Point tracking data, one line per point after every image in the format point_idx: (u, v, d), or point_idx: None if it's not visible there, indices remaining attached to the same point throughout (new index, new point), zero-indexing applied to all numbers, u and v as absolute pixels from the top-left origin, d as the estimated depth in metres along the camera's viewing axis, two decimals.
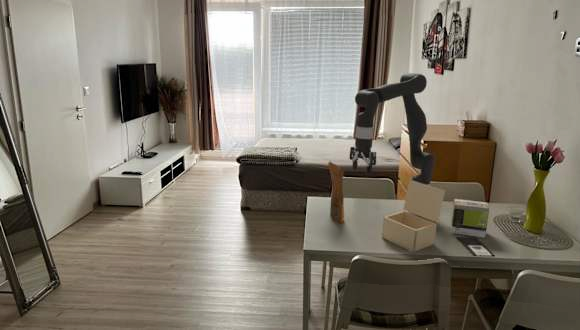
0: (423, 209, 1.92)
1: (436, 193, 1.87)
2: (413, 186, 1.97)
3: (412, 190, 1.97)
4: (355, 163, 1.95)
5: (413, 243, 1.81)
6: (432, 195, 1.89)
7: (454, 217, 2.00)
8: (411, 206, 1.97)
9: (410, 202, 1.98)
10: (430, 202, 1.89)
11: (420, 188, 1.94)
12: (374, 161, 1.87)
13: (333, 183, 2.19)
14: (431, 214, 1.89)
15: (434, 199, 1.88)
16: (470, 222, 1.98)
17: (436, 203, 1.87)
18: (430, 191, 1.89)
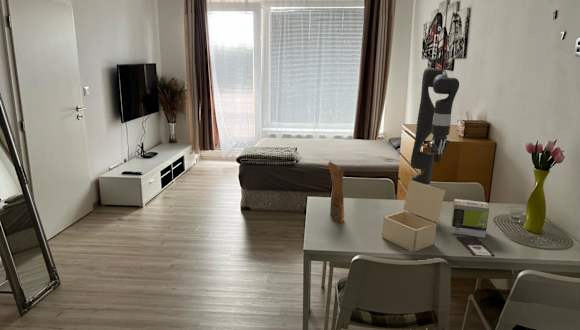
0: (423, 209, 1.92)
1: (436, 193, 1.87)
2: (413, 186, 1.97)
3: (412, 190, 1.97)
4: None
5: (413, 243, 1.81)
6: (432, 195, 1.89)
7: (454, 217, 2.00)
8: (411, 206, 1.97)
9: (410, 202, 1.98)
10: (430, 202, 1.89)
11: (420, 188, 1.94)
12: None
13: (333, 183, 2.19)
14: (431, 214, 1.89)
15: (434, 199, 1.88)
16: (470, 222, 1.98)
17: (436, 203, 1.87)
18: (430, 191, 1.89)
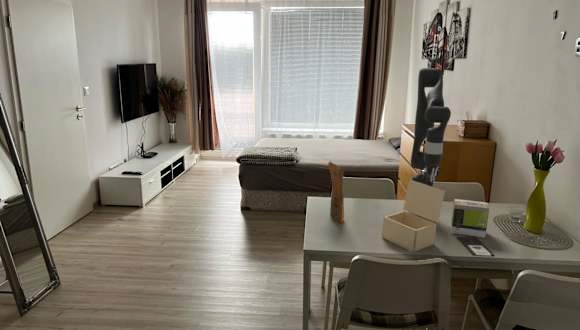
0: (423, 209, 1.92)
1: (436, 193, 1.87)
2: (413, 186, 1.97)
3: (412, 190, 1.97)
4: None
5: (413, 243, 1.81)
6: (432, 195, 1.88)
7: (454, 217, 2.00)
8: (411, 206, 1.97)
9: (410, 202, 1.97)
10: (430, 202, 1.89)
11: (420, 188, 1.94)
12: None
13: (333, 183, 2.19)
14: (431, 214, 1.89)
15: (434, 199, 1.88)
16: (470, 222, 1.98)
17: (436, 203, 1.87)
18: (430, 191, 1.89)
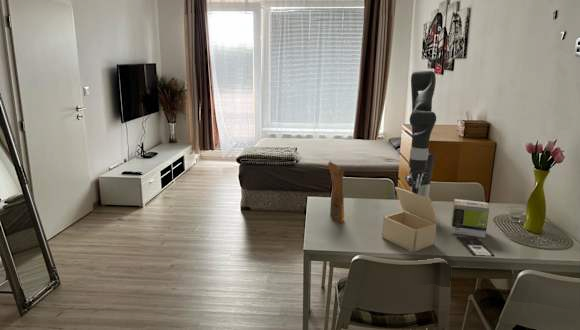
0: (419, 212, 1.91)
1: (423, 200, 1.83)
2: (401, 193, 1.92)
3: (402, 196, 1.93)
4: None
5: (413, 243, 1.81)
6: (421, 202, 1.85)
7: (454, 217, 2.00)
8: (408, 208, 1.96)
9: (405, 205, 1.96)
10: (422, 207, 1.86)
11: (407, 195, 1.89)
12: None
13: (333, 183, 2.19)
14: (428, 216, 1.88)
15: (424, 205, 1.84)
16: (470, 222, 1.98)
17: (428, 208, 1.84)
18: (417, 198, 1.85)
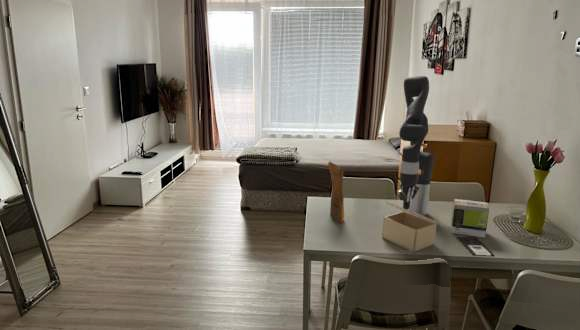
0: (417, 215, 1.91)
1: None
2: None
3: None
4: None
5: (413, 243, 1.81)
6: None
7: (454, 217, 2.00)
8: None
9: (403, 210, 1.95)
10: None
11: (400, 208, 1.88)
12: None
13: (333, 183, 2.19)
14: None
15: (418, 215, 1.83)
16: (470, 222, 1.98)
17: (423, 217, 1.83)
18: None
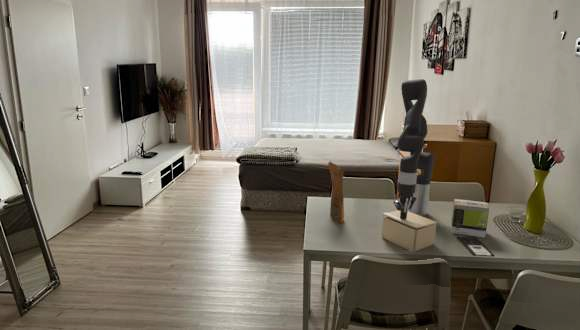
0: None
1: None
2: None
3: None
4: None
5: (413, 243, 1.81)
6: None
7: (454, 217, 2.00)
8: None
9: None
10: None
11: None
12: None
13: (333, 183, 2.19)
14: None
15: None
16: (470, 222, 1.98)
17: None
18: None
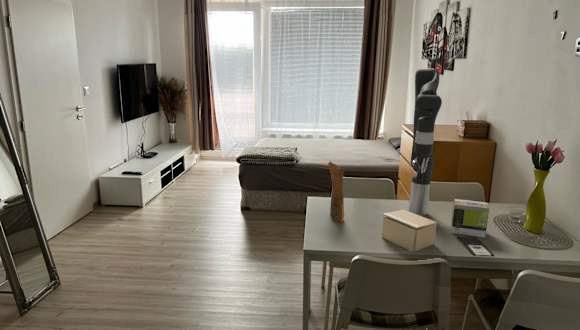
0: None
1: None
2: None
3: None
4: None
5: (413, 243, 1.81)
6: None
7: (454, 217, 2.00)
8: None
9: None
10: None
11: None
12: None
13: (333, 183, 2.19)
14: None
15: None
16: (470, 222, 1.98)
17: None
18: None
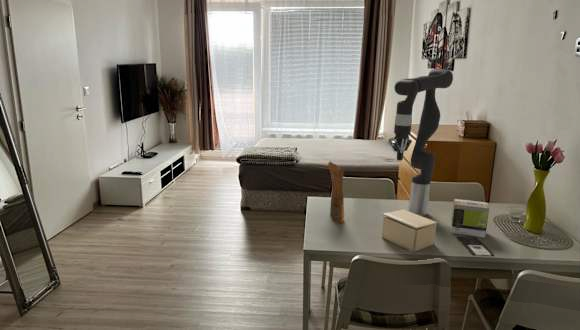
0: None
1: None
2: None
3: None
4: None
5: (413, 243, 1.81)
6: None
7: (454, 217, 2.00)
8: None
9: None
10: None
11: None
12: None
13: (333, 183, 2.19)
14: None
15: None
16: (470, 222, 1.98)
17: None
18: None
